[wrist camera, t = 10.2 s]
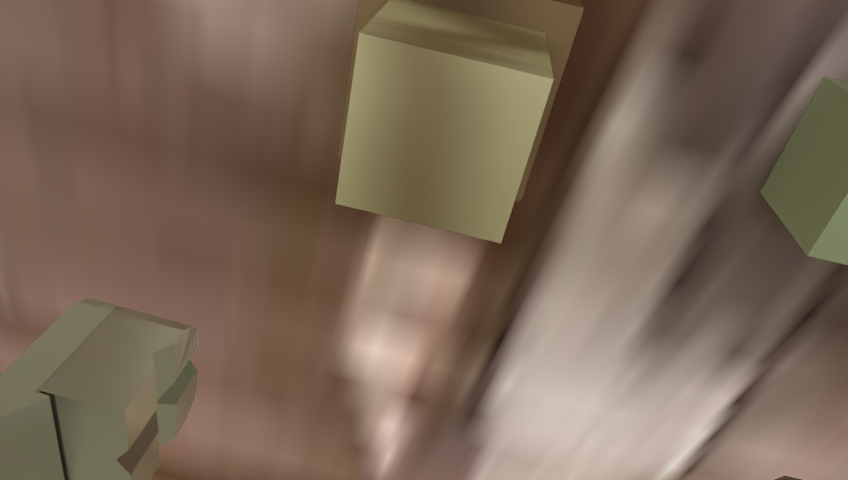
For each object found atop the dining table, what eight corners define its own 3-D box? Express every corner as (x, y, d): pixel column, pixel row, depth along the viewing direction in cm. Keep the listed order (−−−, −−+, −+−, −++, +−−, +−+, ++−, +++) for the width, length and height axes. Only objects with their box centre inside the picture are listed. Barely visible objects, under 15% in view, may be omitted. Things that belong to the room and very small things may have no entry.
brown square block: (574, -14, 22) (584, 8, 19) (520, 157, 26) (520, 201, 23) (387, -59, 22) (364, -45, 19) (360, 119, 26) (337, 157, 23)
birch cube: (545, 32, 20) (553, 79, 15) (503, 171, 22) (501, 243, 18) (392, -4, 20) (359, 32, 15) (369, 138, 22) (334, 203, 18)
